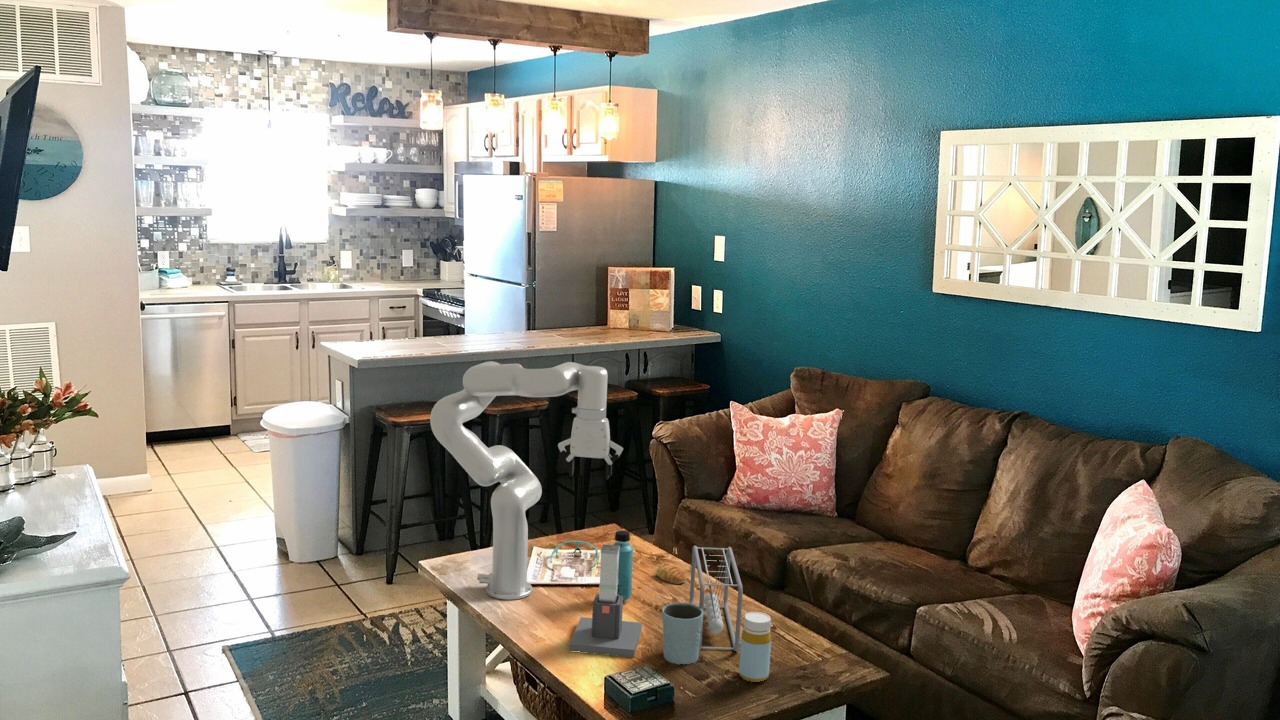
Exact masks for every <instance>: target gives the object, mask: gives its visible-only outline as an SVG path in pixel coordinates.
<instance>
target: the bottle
mask: <svg viewBox="0 0 1280 720" xmlns="http://www.w3.org/2000/svg"><path fill="white" fill-rule="evenodd" d="M771 622H772V619H771V616H770V615H769V614H767V613H764V612H760V611H750V612H747V613H745V614H744V619H743V630H742V632H741V635H740V636H741V637H740V648H739V650H740V651H739V666H738V667H739V668H738V675H739V676H740V677H742V678H743V679H742V678H741V679H742V680H744V679H745V680H747V681H746V682H748V681H751V682H750V683H752V682H760V681H763V682H765V681H766V680H767V679H768V678H769V676H770V675H769V674H770V665H771V651H772V650H771V647H772V634H771ZM745 680H744V681H745ZM764 680H765V681H764ZM760 683H761V682H760Z"/></svg>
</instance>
